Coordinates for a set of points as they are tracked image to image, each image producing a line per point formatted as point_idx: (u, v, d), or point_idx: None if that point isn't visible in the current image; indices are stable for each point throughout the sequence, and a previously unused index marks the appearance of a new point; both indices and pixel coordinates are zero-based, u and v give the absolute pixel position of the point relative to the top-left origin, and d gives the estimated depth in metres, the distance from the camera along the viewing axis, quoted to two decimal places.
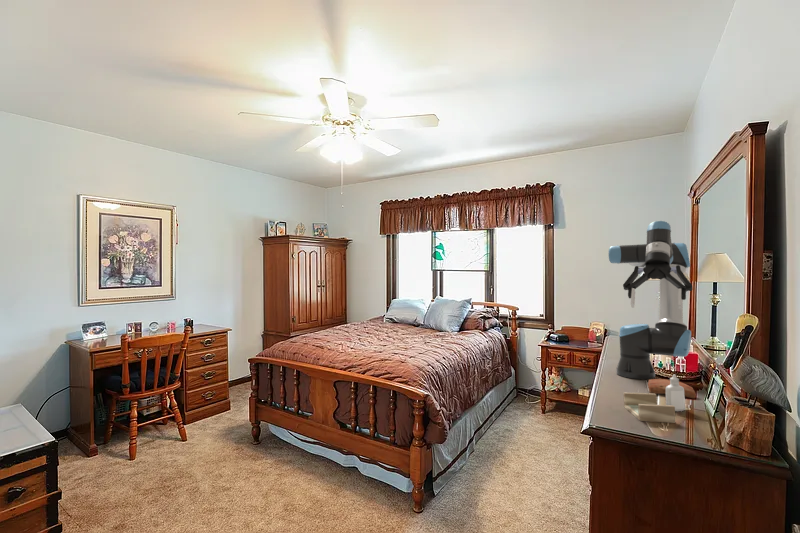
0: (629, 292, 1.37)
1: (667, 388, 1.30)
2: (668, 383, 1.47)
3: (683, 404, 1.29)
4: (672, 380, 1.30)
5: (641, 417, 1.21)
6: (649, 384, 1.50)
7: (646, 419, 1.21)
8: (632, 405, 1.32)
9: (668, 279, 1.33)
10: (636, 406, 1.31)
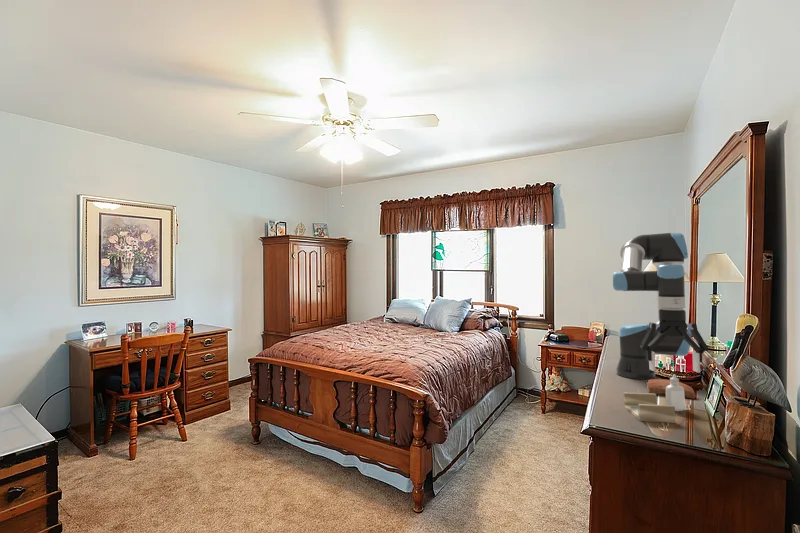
0: (649, 356, 1.31)
1: (667, 388, 1.30)
2: (668, 383, 1.47)
3: (683, 404, 1.29)
4: (672, 380, 1.30)
5: (641, 417, 1.21)
6: (648, 384, 1.49)
7: (646, 419, 1.21)
8: (632, 405, 1.32)
9: (683, 337, 1.30)
10: (636, 406, 1.31)
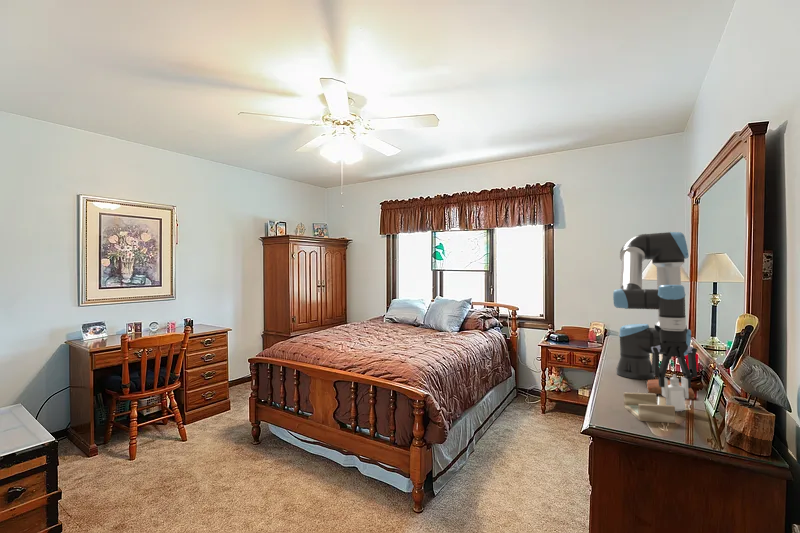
0: (661, 382, 1.31)
1: None
2: None
3: (683, 404, 1.29)
4: (672, 380, 1.30)
5: (641, 417, 1.21)
6: (648, 384, 1.49)
7: (646, 419, 1.21)
8: (632, 405, 1.32)
9: (679, 359, 1.31)
10: (636, 406, 1.31)
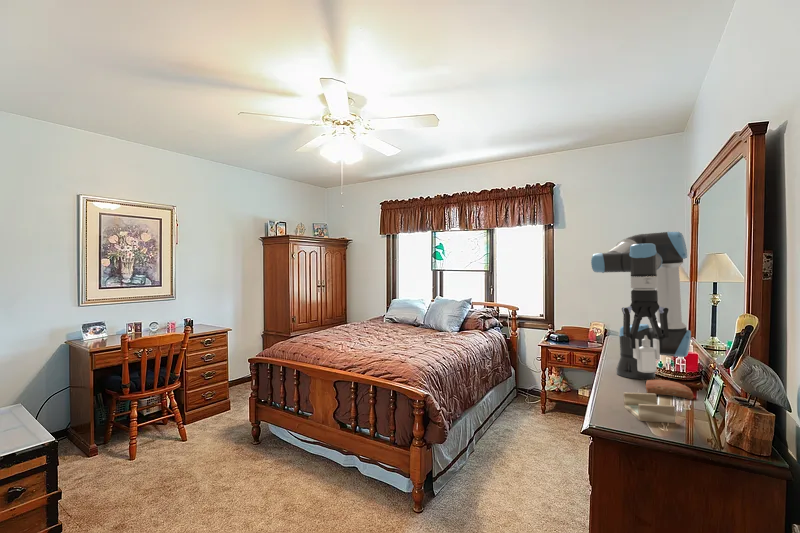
0: (632, 343, 1.27)
1: None
2: (666, 384, 1.46)
3: (654, 366, 1.26)
4: (643, 341, 1.27)
5: (641, 417, 1.21)
6: (647, 385, 1.49)
7: (646, 419, 1.21)
8: (632, 405, 1.32)
9: (650, 320, 1.27)
10: (636, 406, 1.31)
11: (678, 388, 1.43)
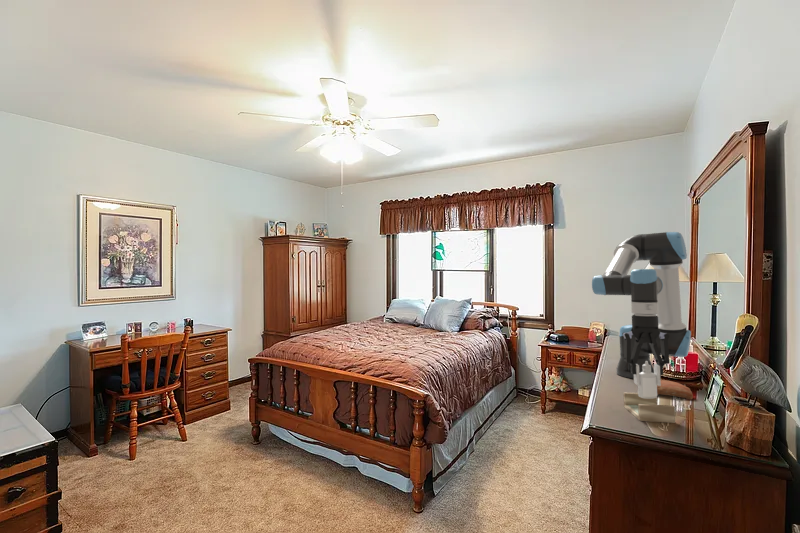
0: (633, 369, 1.27)
1: (639, 375, 1.27)
2: (665, 384, 1.46)
3: (655, 392, 1.25)
4: (644, 367, 1.26)
5: (641, 417, 1.21)
6: None
7: (646, 419, 1.21)
8: (632, 405, 1.32)
9: (651, 346, 1.27)
10: (636, 406, 1.31)
11: (677, 388, 1.43)
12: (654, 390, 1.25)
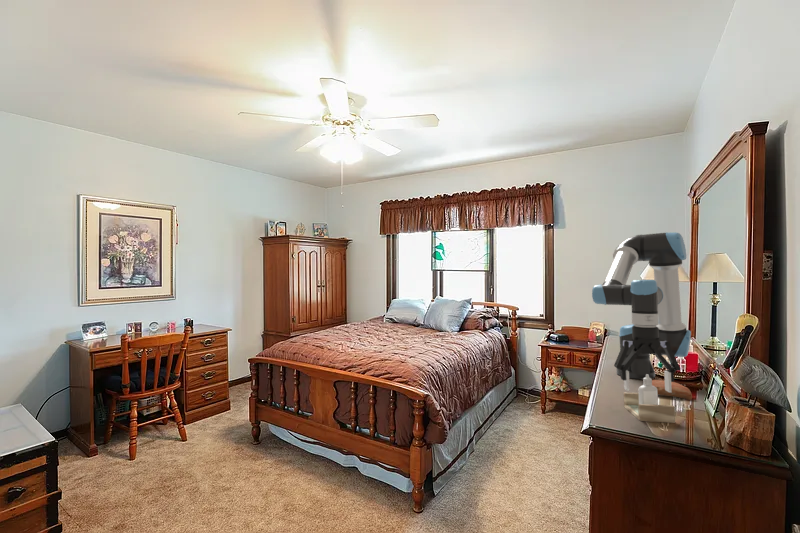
0: (623, 375, 1.28)
1: (640, 388, 1.27)
2: (664, 384, 1.46)
3: None
4: (645, 380, 1.26)
5: (641, 417, 1.21)
6: None
7: (646, 419, 1.21)
8: (632, 405, 1.32)
9: (656, 355, 1.27)
10: (636, 406, 1.31)
11: (677, 388, 1.42)
12: (655, 403, 1.25)
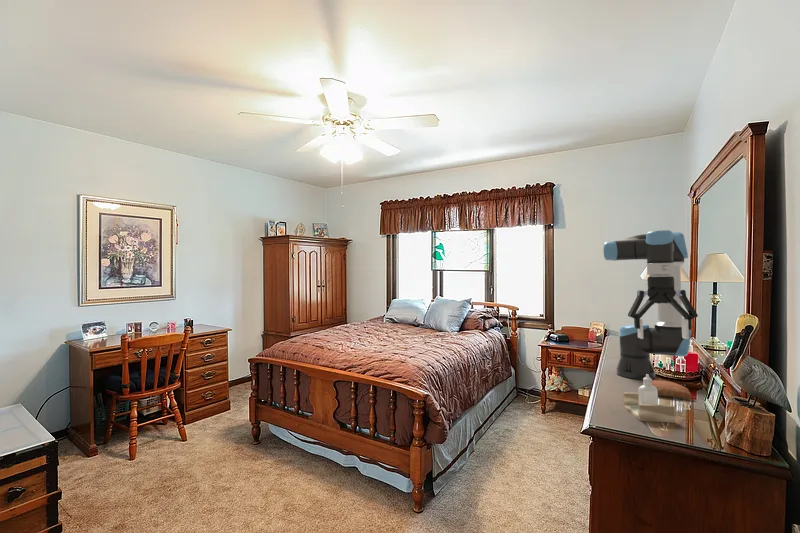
0: (637, 323, 1.30)
1: (640, 388, 1.27)
2: (663, 384, 1.45)
3: None
4: (645, 380, 1.26)
5: (641, 417, 1.21)
6: None
7: (646, 419, 1.21)
8: (632, 405, 1.32)
9: (672, 304, 1.29)
10: (636, 406, 1.31)
11: (676, 388, 1.42)
12: (655, 403, 1.25)
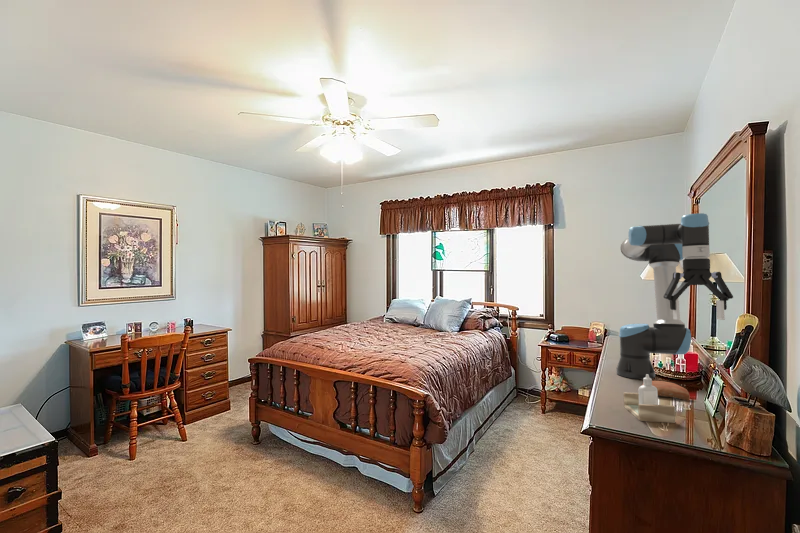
0: (673, 305, 1.32)
1: (640, 388, 1.27)
2: (662, 385, 1.45)
3: None
4: (645, 380, 1.26)
5: (641, 417, 1.21)
6: None
7: (646, 419, 1.21)
8: (632, 405, 1.32)
9: (707, 286, 1.31)
10: (636, 406, 1.31)
11: (674, 389, 1.42)
12: (655, 403, 1.25)
